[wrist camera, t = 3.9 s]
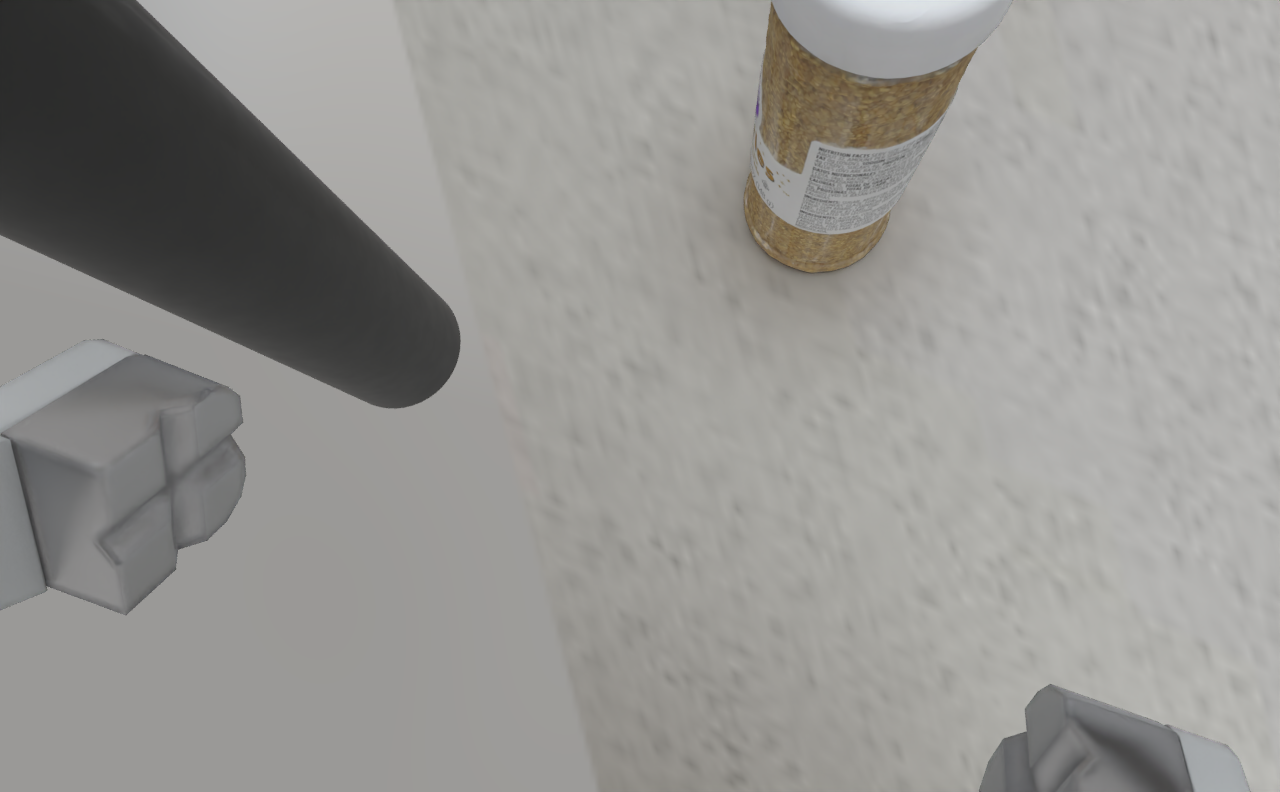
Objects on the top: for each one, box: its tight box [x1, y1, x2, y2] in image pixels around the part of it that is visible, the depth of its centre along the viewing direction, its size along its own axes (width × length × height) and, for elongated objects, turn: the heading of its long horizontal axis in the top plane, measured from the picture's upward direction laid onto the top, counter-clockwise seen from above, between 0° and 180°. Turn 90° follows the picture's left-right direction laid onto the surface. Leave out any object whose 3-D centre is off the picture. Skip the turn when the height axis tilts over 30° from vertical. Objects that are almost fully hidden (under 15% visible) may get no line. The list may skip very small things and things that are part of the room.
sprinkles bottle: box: [744, 0, 1013, 273], centre depth 21 cm, size 5×5×14 cm
